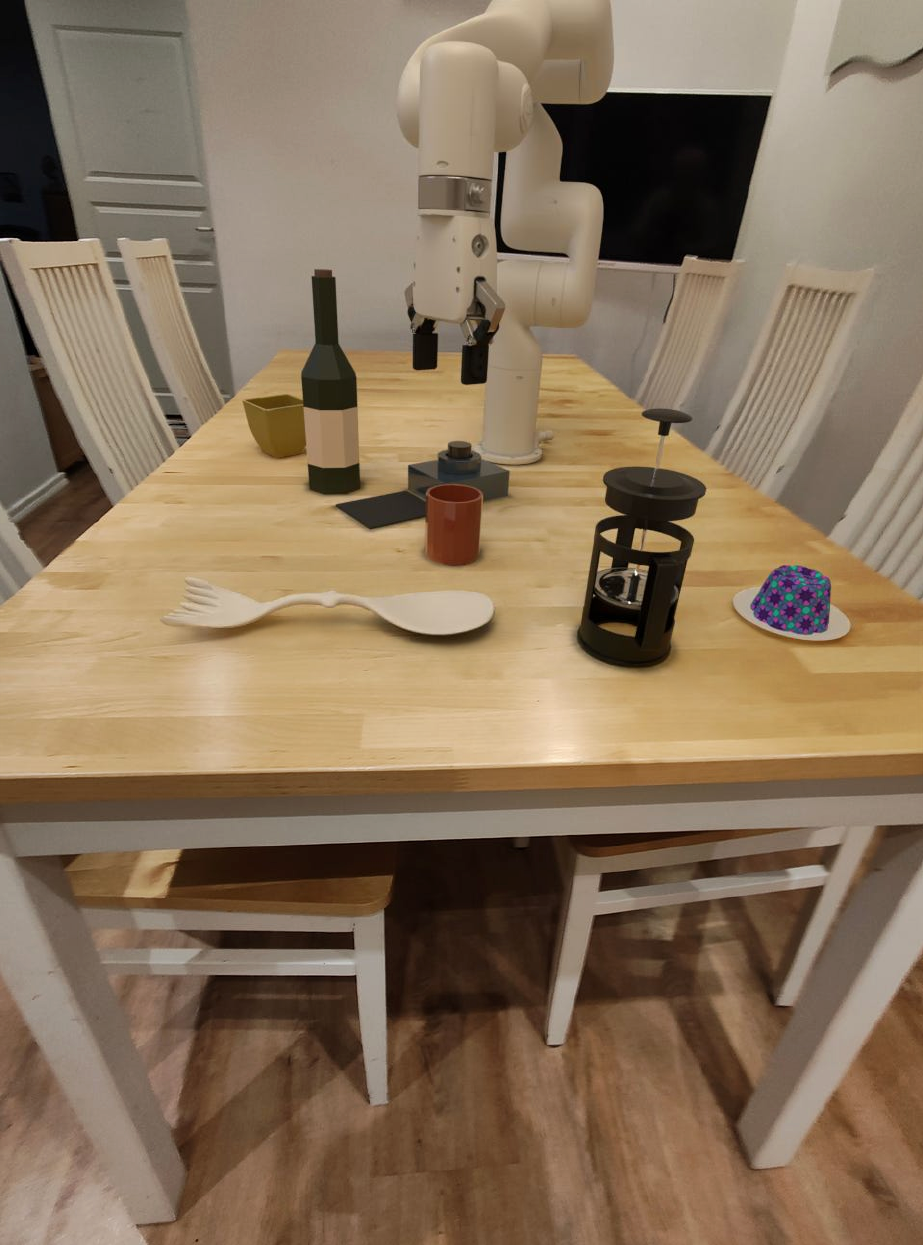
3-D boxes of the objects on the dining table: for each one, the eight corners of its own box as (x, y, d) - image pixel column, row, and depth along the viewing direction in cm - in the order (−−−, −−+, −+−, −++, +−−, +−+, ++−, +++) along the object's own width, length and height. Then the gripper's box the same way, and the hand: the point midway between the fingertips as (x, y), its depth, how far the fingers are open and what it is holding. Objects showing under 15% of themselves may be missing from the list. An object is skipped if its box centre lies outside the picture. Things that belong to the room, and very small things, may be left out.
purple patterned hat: (864, 653, 69) (882, 608, 66) (741, 638, 70) (754, 593, 68) (829, 599, 79) (844, 558, 76) (723, 587, 81) (734, 546, 78)
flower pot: (271, 463, 114) (265, 409, 109) (247, 451, 119) (241, 398, 115) (316, 455, 119) (313, 403, 114) (292, 443, 124) (287, 393, 120)
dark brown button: (461, 452, 105) (462, 439, 104) (475, 459, 102) (476, 445, 101) (442, 456, 103) (443, 442, 102) (456, 462, 100) (457, 448, 99)
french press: (564, 617, 73) (595, 396, 61) (648, 615, 74) (694, 398, 62) (596, 680, 63) (640, 430, 51) (692, 677, 64) (757, 431, 52)
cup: (458, 539, 90) (460, 480, 86) (489, 557, 85) (494, 496, 81) (414, 549, 86) (415, 489, 82) (445, 569, 81) (448, 506, 77)
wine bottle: (351, 498, 101) (341, 273, 86) (298, 492, 103) (280, 269, 87) (368, 480, 108) (363, 270, 93) (319, 475, 110) (305, 266, 95)
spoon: (190, 601, 72) (185, 572, 70) (489, 604, 74) (490, 575, 73) (163, 647, 64) (156, 615, 62) (497, 648, 67) (500, 617, 65)
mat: (405, 492, 104) (405, 490, 104) (443, 513, 97) (443, 510, 97) (335, 506, 98) (335, 504, 98) (370, 529, 91) (370, 527, 91)
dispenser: (469, 478, 112) (471, 441, 109) (507, 496, 105) (510, 458, 102) (407, 490, 105) (407, 451, 102) (444, 510, 99) (446, 469, 96)
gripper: (538, 203, 65) (521, 387, 74) (437, 204, 77) (433, 363, 86) (476, 197, 61) (466, 392, 70) (380, 199, 73) (381, 366, 82)
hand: (448, 376), depth 78 cm, fingers open, 9 cm apart
